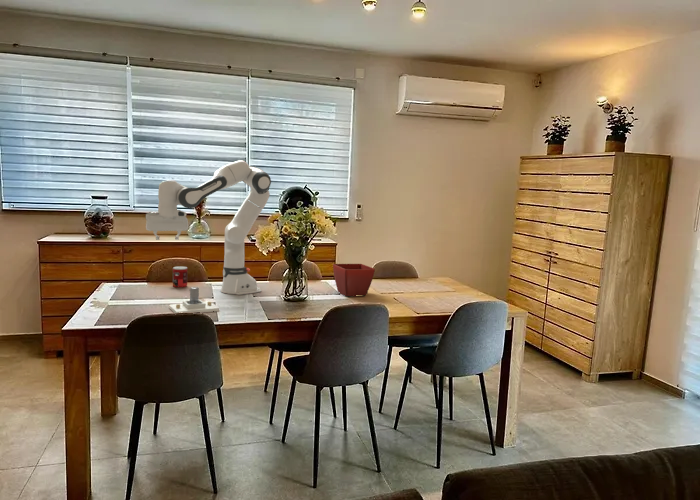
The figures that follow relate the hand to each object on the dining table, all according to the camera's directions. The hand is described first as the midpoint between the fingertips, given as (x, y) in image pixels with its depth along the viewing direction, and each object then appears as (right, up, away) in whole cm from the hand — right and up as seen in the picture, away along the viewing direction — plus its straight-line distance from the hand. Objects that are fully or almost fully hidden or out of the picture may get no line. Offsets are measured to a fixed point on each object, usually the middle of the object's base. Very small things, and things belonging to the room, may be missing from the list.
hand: (167, 239), depth 249 cm
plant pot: (+94, -32, +41) cm, 107 cm away
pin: (+17, -33, -12) cm, 39 cm away
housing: (+17, -34, -12) cm, 40 cm away
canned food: (-6, -26, +35) cm, 44 cm away
